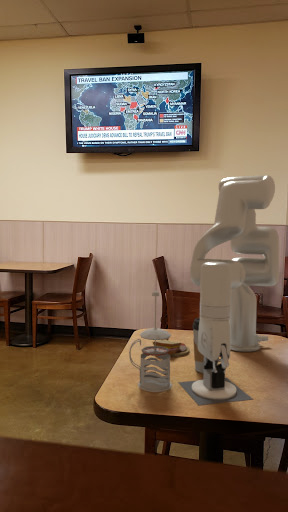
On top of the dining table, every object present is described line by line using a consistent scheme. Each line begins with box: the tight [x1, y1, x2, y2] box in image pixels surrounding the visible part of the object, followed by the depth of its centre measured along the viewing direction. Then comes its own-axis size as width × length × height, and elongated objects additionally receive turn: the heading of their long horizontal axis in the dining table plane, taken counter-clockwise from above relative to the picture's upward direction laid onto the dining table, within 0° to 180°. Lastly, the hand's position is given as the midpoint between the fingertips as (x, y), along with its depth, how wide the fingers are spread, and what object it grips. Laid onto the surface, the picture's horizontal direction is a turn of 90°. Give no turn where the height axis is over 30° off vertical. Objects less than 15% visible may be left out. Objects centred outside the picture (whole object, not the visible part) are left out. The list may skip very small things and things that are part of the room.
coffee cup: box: [192, 317, 220, 374], centre depth 110 cm, size 8×8×15 cm
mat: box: [178, 377, 254, 406], centre depth 96 cm, size 14×14×1 cm
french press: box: [128, 290, 173, 393], centre depth 99 cm, size 10×12×25 cm
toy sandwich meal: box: [152, 338, 190, 357], centre depth 130 cm, size 12×14×5 cm
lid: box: [192, 369, 236, 400], centre depth 96 cm, size 11×11×5 cm
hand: (213, 383), depth 96 cm, fingers closed on lid, 4 cm apart
